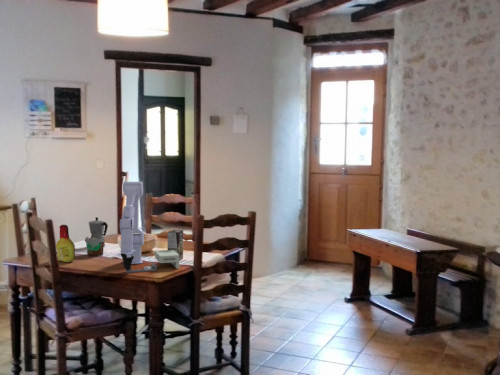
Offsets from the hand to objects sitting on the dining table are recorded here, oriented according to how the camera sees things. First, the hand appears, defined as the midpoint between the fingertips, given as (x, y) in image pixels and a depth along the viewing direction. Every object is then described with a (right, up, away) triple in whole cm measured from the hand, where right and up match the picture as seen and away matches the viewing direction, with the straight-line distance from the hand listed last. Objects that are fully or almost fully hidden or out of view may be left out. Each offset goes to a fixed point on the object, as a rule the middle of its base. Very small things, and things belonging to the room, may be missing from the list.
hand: (127, 268), depth 284 cm
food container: (-28, +2, +38) cm, 47 cm away
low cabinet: (+18, -1, +15) cm, 23 cm away
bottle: (-38, 0, +23) cm, 44 cm away
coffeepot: (-31, +4, +62) cm, 70 cm away
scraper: (+5, -1, +7) cm, 9 cm away
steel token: (+9, -2, +9) cm, 13 cm away
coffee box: (+20, 0, +29) cm, 36 cm away
